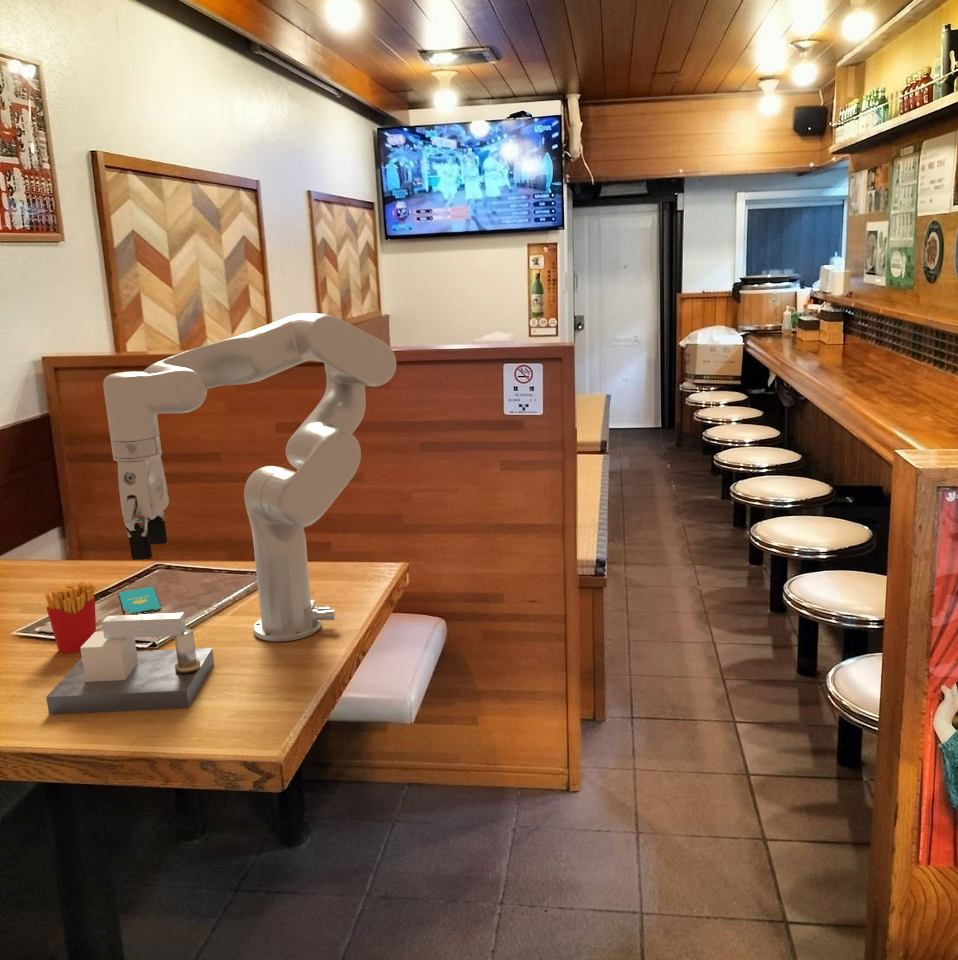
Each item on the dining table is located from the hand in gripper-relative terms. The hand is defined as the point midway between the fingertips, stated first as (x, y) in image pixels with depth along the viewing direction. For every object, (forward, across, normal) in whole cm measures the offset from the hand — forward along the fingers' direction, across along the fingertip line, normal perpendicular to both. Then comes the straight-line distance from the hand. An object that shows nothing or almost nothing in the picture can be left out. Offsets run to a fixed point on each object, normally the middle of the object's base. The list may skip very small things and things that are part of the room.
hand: (150, 550), depth 154 cm
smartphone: (+22, +33, +16) cm, 43 cm away
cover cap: (+19, -7, +6) cm, 21 cm away
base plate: (+22, -7, +3) cm, 23 cm away
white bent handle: (+19, -7, -1) cm, 20 cm away
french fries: (+22, +11, +20) cm, 32 cm away
